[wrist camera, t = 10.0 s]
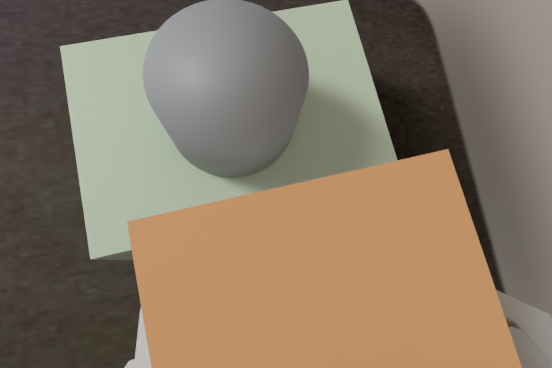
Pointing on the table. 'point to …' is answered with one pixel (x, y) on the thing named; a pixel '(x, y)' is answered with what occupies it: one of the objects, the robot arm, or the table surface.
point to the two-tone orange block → (324, 276)
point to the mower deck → (160, 172)
